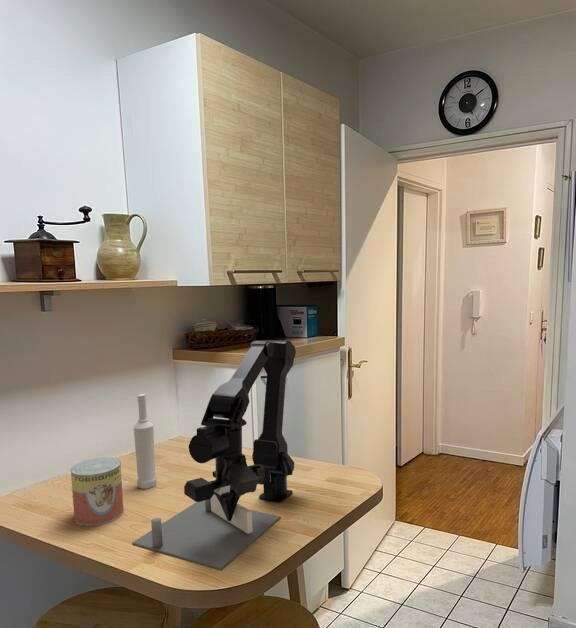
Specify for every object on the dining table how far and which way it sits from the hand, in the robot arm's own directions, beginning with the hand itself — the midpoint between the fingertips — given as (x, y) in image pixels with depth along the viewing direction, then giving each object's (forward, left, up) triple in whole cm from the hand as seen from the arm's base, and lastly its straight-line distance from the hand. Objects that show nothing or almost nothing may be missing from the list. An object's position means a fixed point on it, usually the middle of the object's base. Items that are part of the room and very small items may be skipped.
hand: (229, 520), depth 111 cm
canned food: (+6, -34, -3) cm, 35 cm away
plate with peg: (+1, -5, -3) cm, 6 cm away
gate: (-4, -3, -2) cm, 5 cm away
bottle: (-12, -36, -3) cm, 38 cm away
